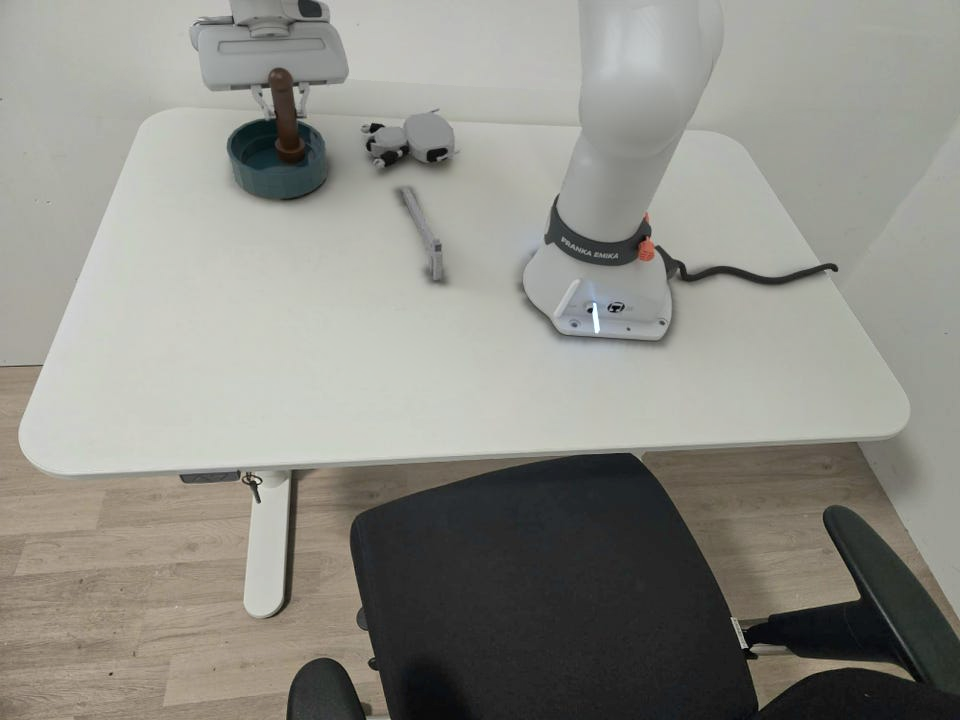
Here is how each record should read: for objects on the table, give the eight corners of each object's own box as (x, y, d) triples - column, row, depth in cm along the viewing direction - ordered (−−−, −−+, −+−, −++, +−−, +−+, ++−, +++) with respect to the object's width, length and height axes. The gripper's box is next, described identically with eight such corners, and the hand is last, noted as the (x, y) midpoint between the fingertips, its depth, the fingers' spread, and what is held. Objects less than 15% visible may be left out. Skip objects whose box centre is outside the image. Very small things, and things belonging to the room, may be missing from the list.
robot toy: (376, 184, 94) (462, 169, 98) (373, 160, 90) (464, 146, 94) (359, 138, 100) (442, 126, 104) (356, 115, 97) (442, 103, 100)
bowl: (338, 155, 96) (336, 128, 92) (309, 210, 87) (306, 183, 83) (255, 137, 95) (249, 109, 91) (218, 189, 87) (210, 161, 83)
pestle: (310, 149, 91) (300, 64, 80) (300, 166, 88) (288, 80, 77) (283, 143, 91) (269, 57, 80) (272, 160, 88) (256, 73, 77)
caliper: (441, 282, 83) (445, 250, 78) (433, 283, 82) (437, 251, 77) (407, 190, 93) (408, 157, 88) (400, 190, 93) (401, 157, 88)
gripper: (182, 7, 75) (208, 119, 78) (339, 4, 81) (358, 108, 84) (188, 26, 81) (212, 129, 84) (334, 21, 87) (352, 118, 90)
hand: (286, 119), depth 84 cm, fingers closed on pestle, 3 cm apart
